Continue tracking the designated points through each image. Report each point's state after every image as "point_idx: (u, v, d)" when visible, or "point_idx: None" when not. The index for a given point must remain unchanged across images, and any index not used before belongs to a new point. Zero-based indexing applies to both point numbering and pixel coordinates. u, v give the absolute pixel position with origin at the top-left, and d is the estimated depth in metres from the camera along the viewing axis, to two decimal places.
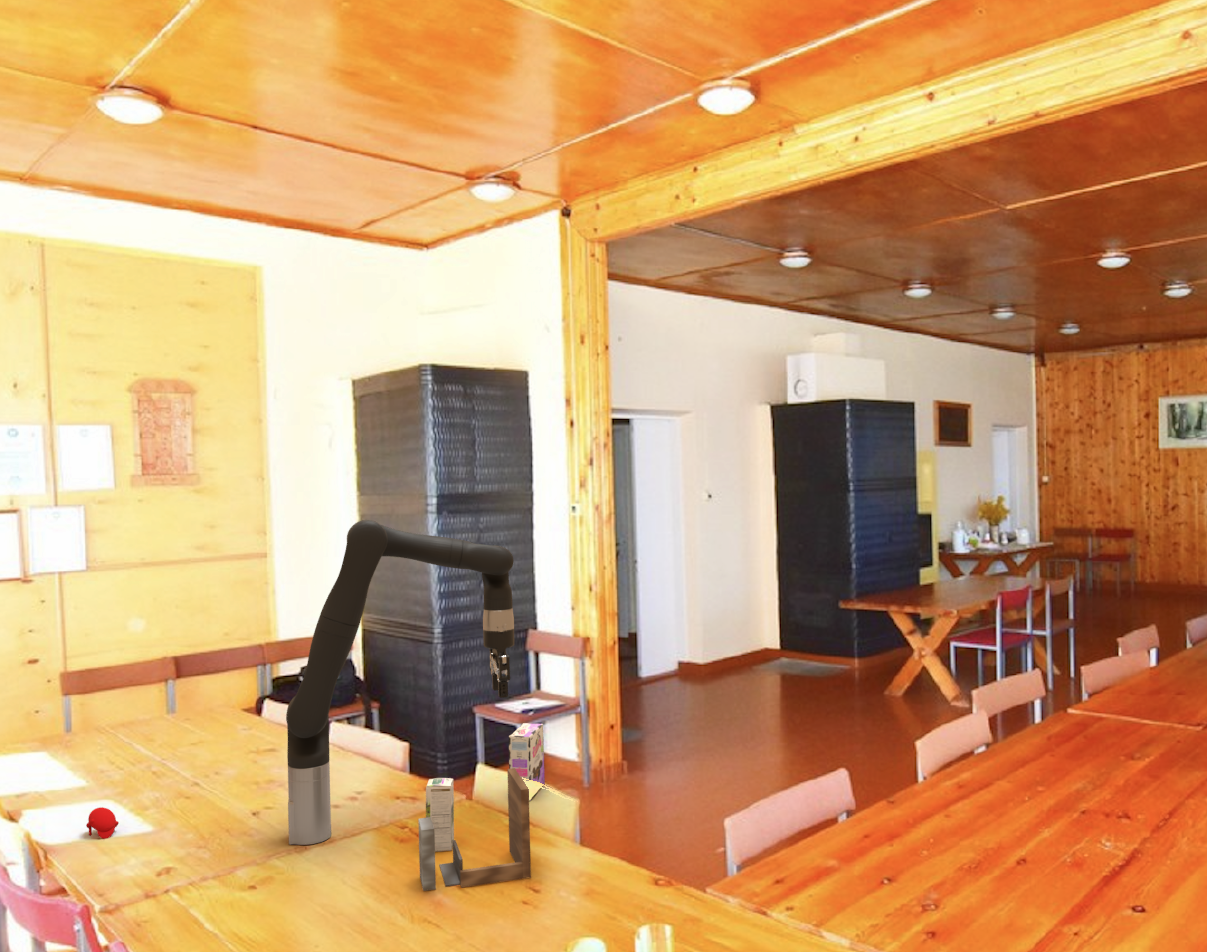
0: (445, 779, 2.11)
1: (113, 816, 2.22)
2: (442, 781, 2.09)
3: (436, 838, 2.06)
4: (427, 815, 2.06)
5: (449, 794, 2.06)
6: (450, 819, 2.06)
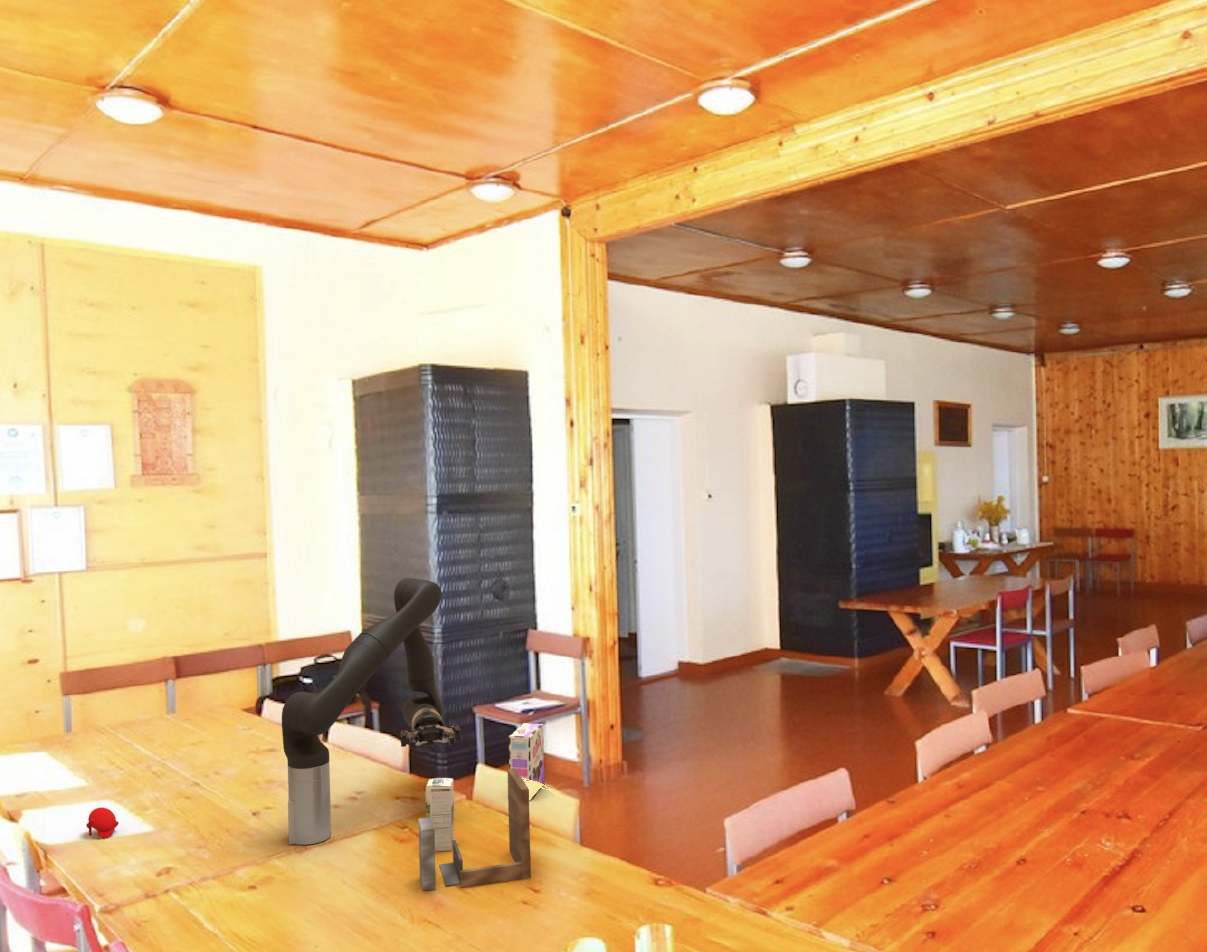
0: (445, 779, 2.11)
1: (113, 816, 2.22)
2: (442, 781, 2.09)
3: (436, 838, 2.06)
4: (427, 815, 2.06)
5: (449, 794, 2.06)
6: (450, 819, 2.06)
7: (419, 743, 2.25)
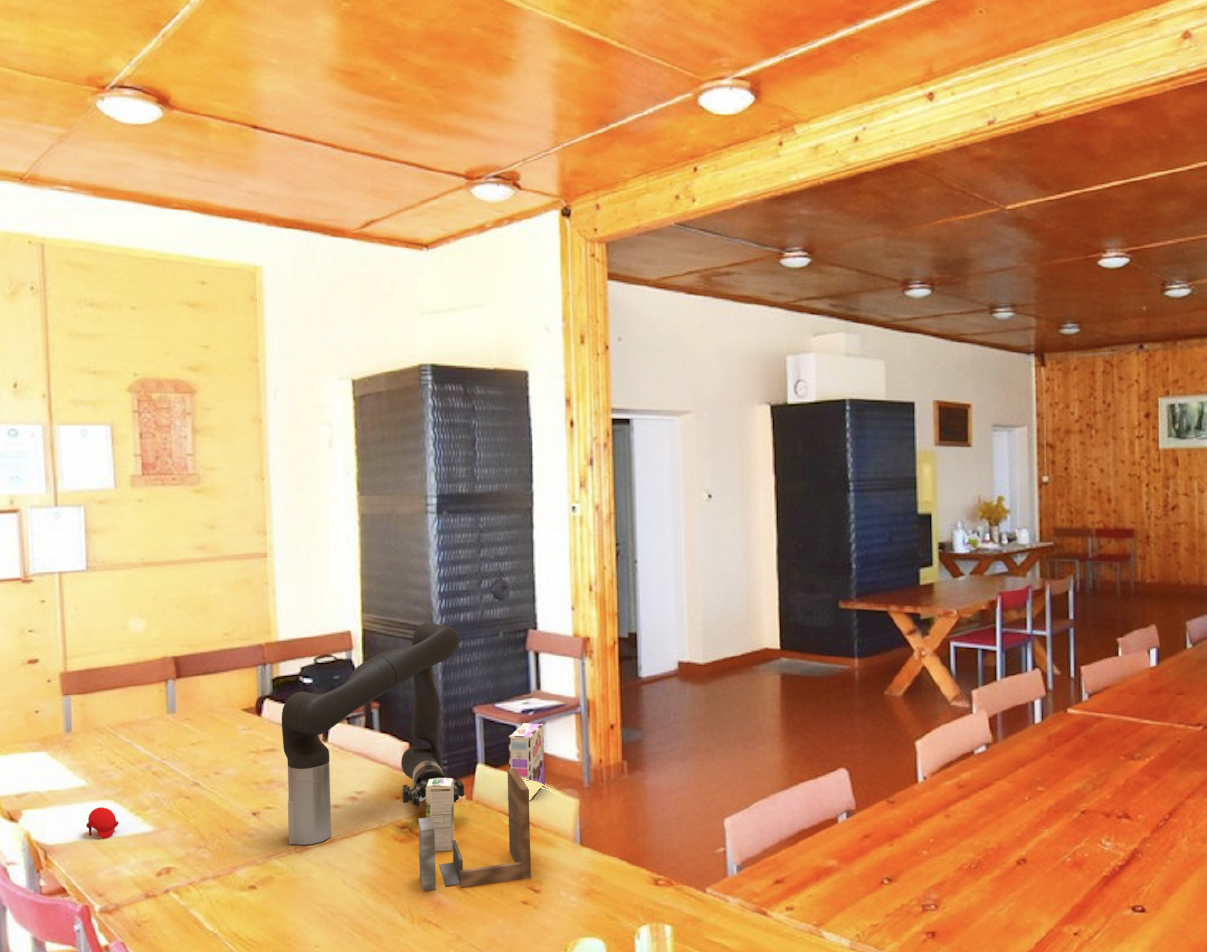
0: (445, 779, 2.11)
1: (113, 816, 2.22)
2: (442, 781, 2.09)
3: (436, 838, 2.06)
4: (427, 815, 2.06)
5: (449, 794, 2.06)
6: (450, 819, 2.06)
7: (421, 799, 2.21)
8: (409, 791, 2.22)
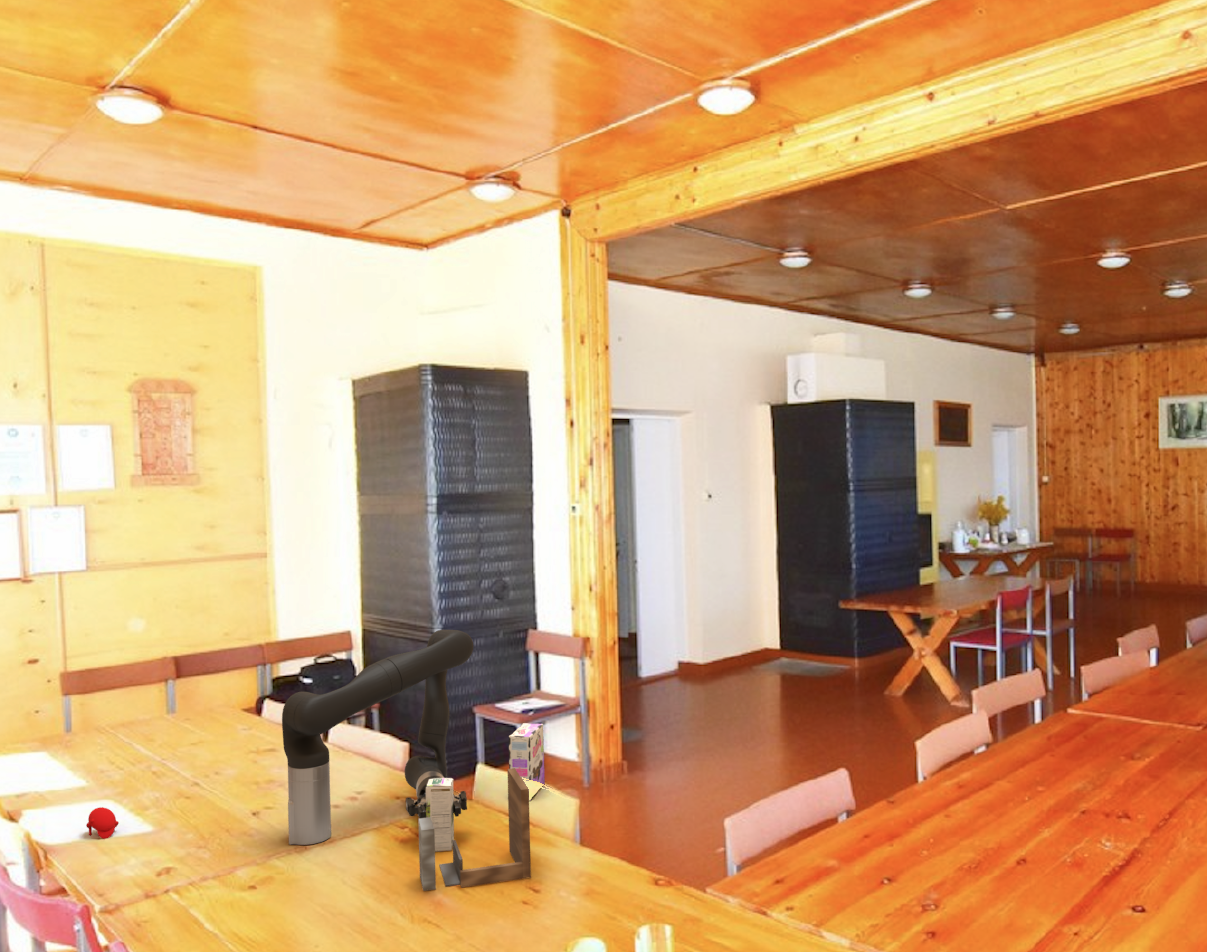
0: (445, 779, 2.11)
1: (113, 816, 2.22)
2: (442, 781, 2.09)
3: (436, 838, 2.06)
4: (427, 815, 2.06)
5: (449, 794, 2.06)
6: (450, 819, 2.06)
7: None
8: (413, 804, 2.13)
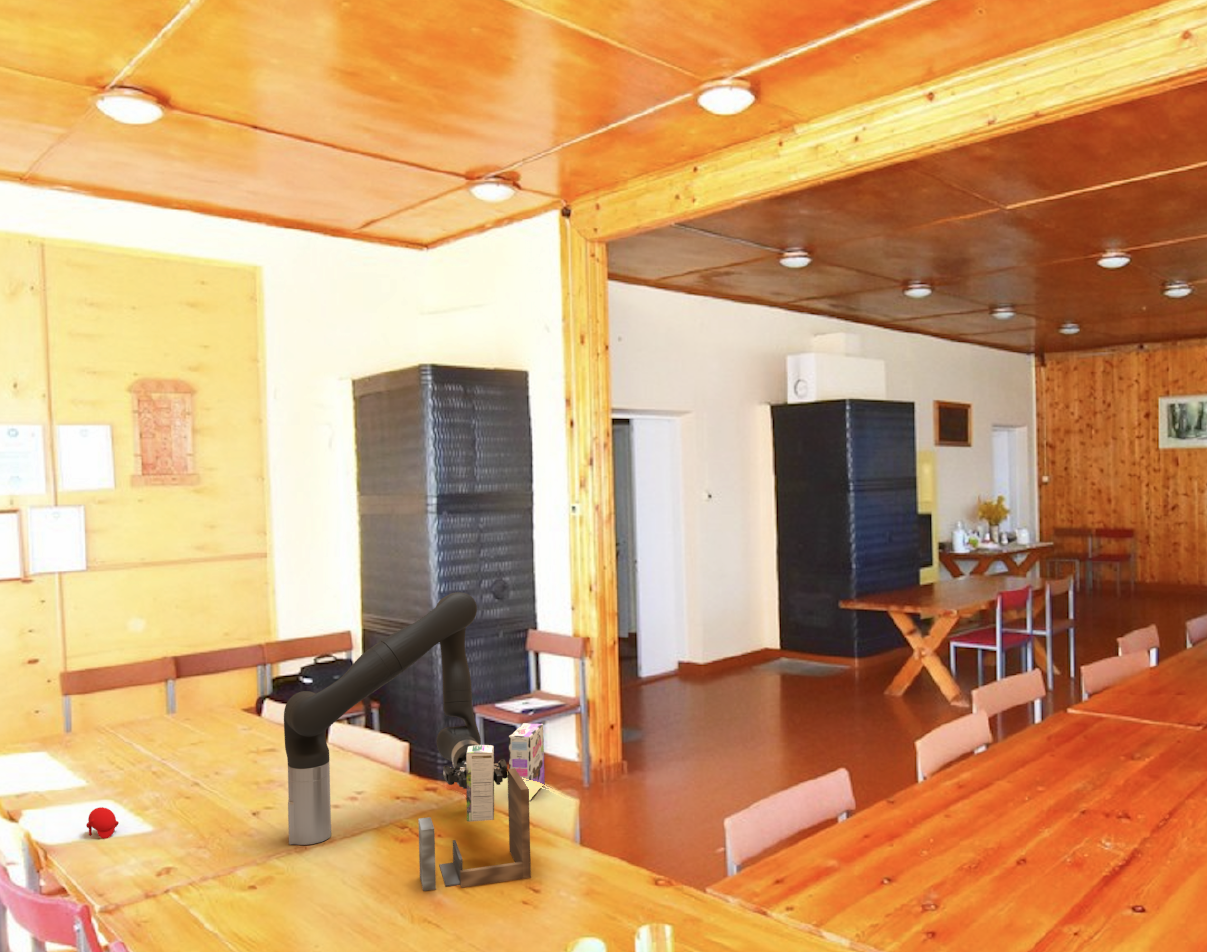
0: (485, 746, 2.02)
1: (113, 816, 2.22)
2: (483, 748, 2.00)
3: (477, 807, 1.97)
4: (468, 783, 1.97)
5: (491, 761, 1.97)
6: (492, 787, 1.97)
7: None
8: None
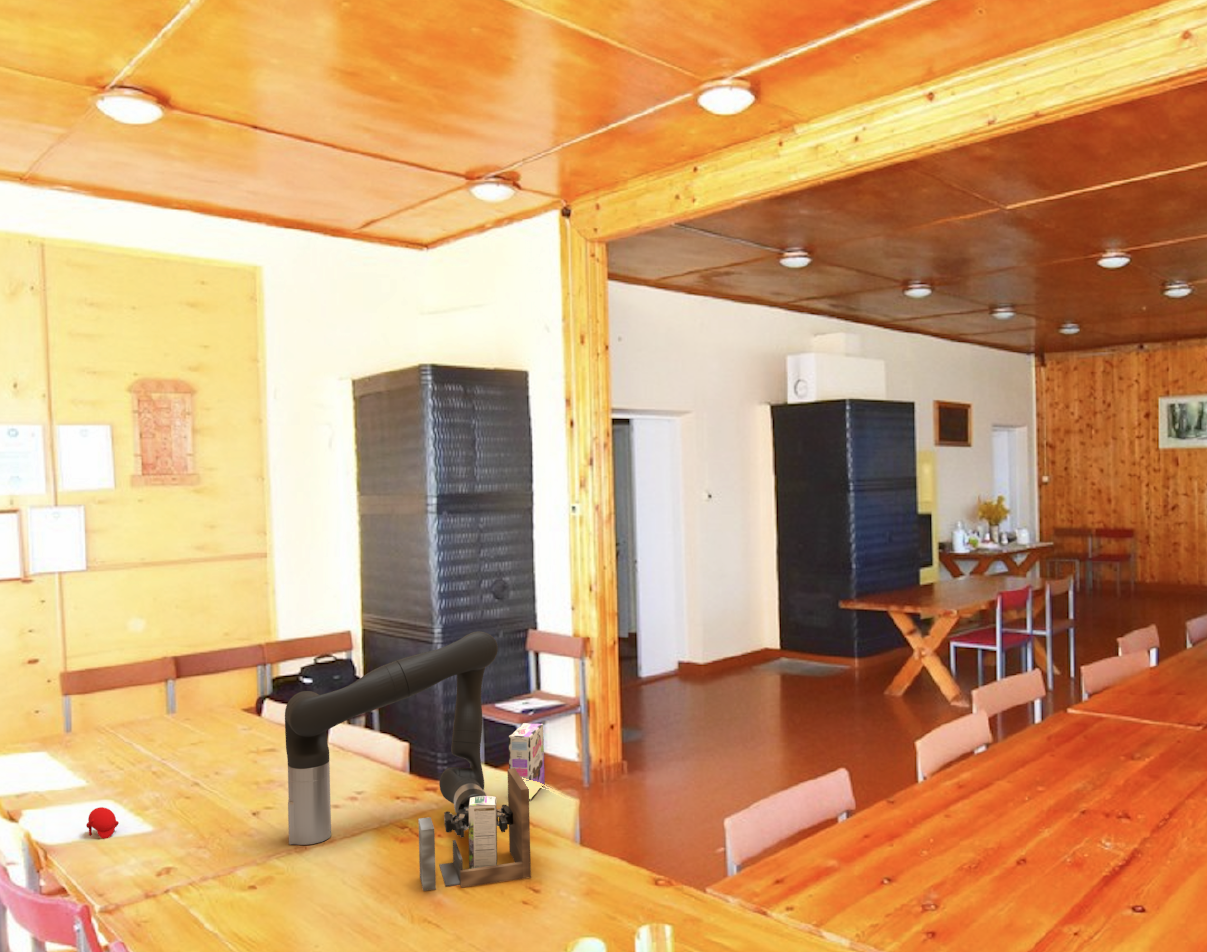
0: (488, 797, 1.98)
1: (113, 816, 2.23)
2: (485, 800, 1.96)
3: (479, 861, 1.93)
4: (470, 836, 1.93)
5: (493, 814, 1.93)
6: (495, 840, 1.93)
7: (466, 828, 1.99)
8: (452, 819, 2.00)
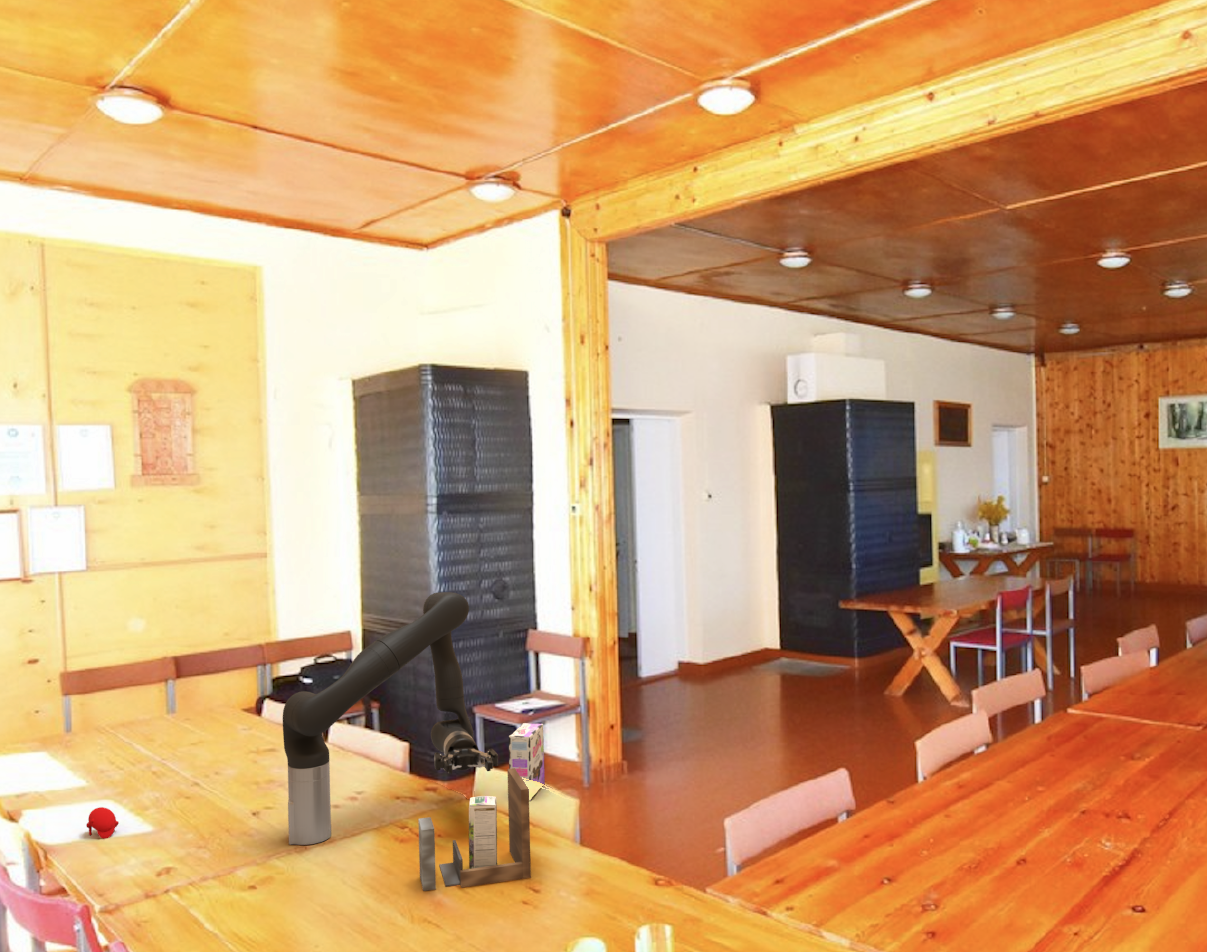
0: (488, 797, 1.98)
1: (113, 816, 2.23)
2: (485, 800, 1.96)
3: (479, 861, 1.93)
4: (470, 836, 1.93)
5: (494, 814, 1.93)
6: (495, 840, 1.93)
7: (454, 767, 2.13)
8: (441, 759, 2.14)
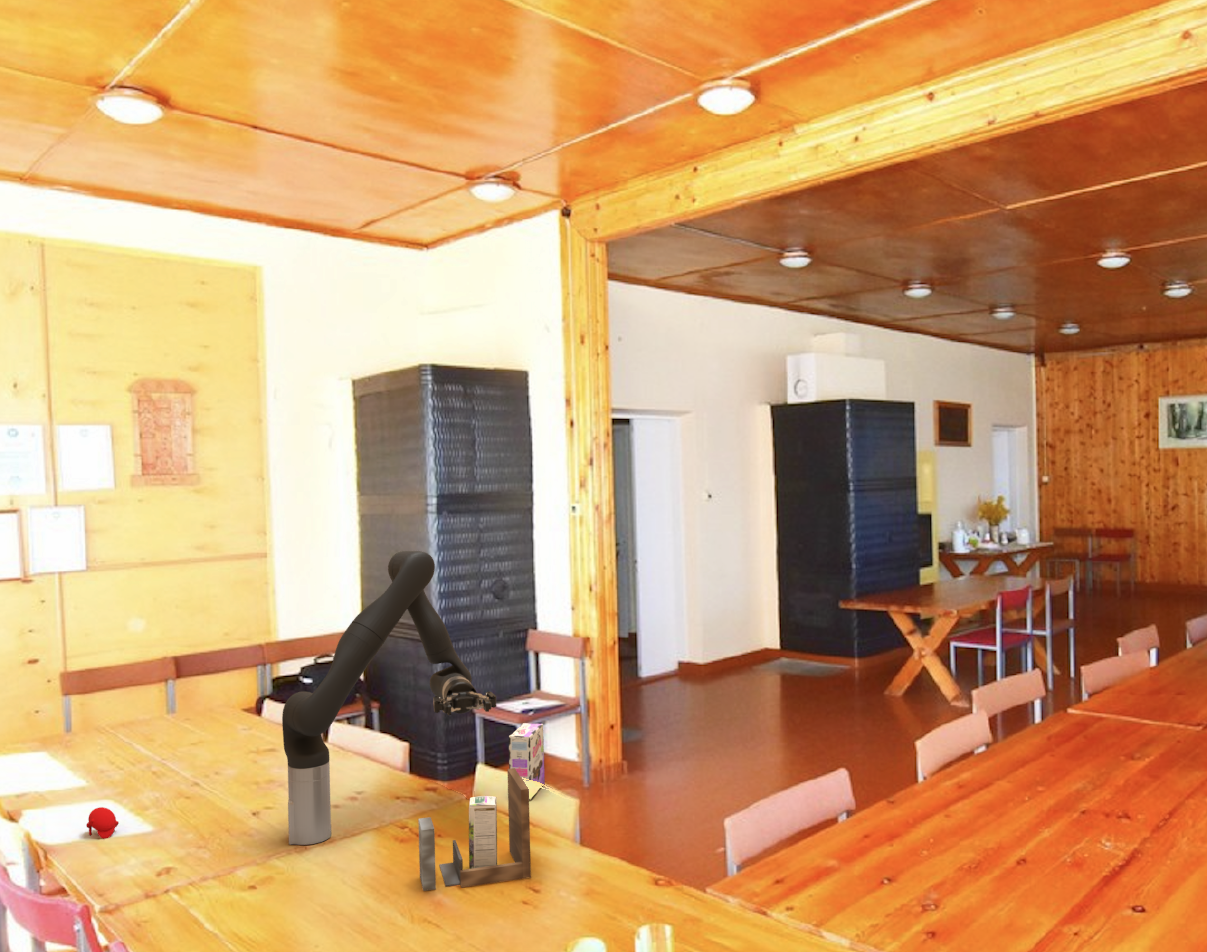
0: (488, 797, 1.98)
1: (113, 816, 2.23)
2: (485, 800, 1.96)
3: (479, 861, 1.93)
4: (470, 836, 1.93)
5: (494, 814, 1.93)
6: (495, 840, 1.93)
7: (453, 709, 2.16)
8: (440, 702, 2.18)
